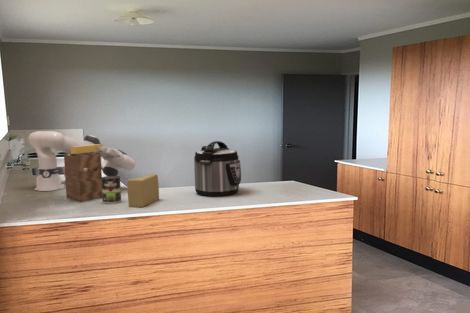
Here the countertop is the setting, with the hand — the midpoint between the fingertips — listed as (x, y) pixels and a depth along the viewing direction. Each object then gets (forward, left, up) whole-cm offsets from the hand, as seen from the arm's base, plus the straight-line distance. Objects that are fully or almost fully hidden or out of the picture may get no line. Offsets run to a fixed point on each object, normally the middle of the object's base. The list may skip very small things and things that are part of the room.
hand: (94, 146), depth 269 cm
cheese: (+33, +31, -30) cm, 54 cm away
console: (+9, -6, -30) cm, 32 cm away
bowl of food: (-58, -22, -30) cm, 69 cm away
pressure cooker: (+14, +73, -30) cm, 80 cm away
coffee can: (+24, +11, -30) cm, 40 cm away
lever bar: (+6, -4, -3) cm, 7 cm away
